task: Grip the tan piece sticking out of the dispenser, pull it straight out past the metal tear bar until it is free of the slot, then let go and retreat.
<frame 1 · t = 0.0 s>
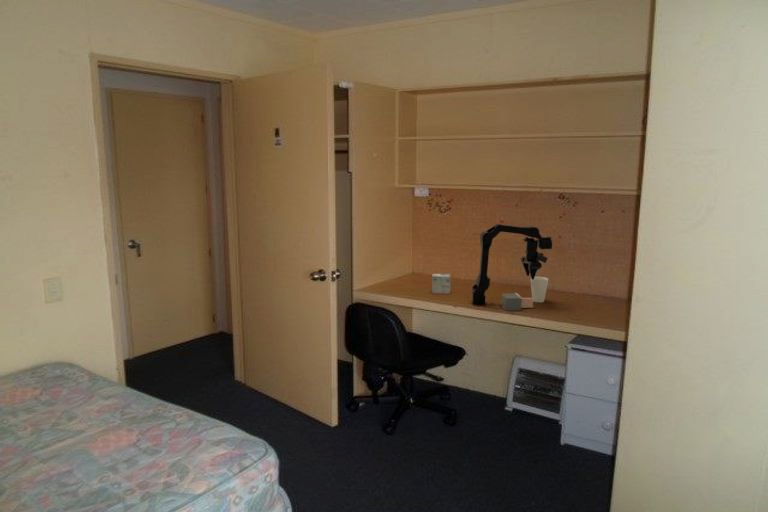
hand: (530, 277, 300), 15 cm above the table, fingers open, 9 cm apart
light bulb box: (441, 292, 327), on the table
foam cup: (538, 301, 308), on the table
tan piece: (523, 302, 293), point 3 cm above the table, slide at 0.0 cm
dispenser: (510, 307, 294), on the table
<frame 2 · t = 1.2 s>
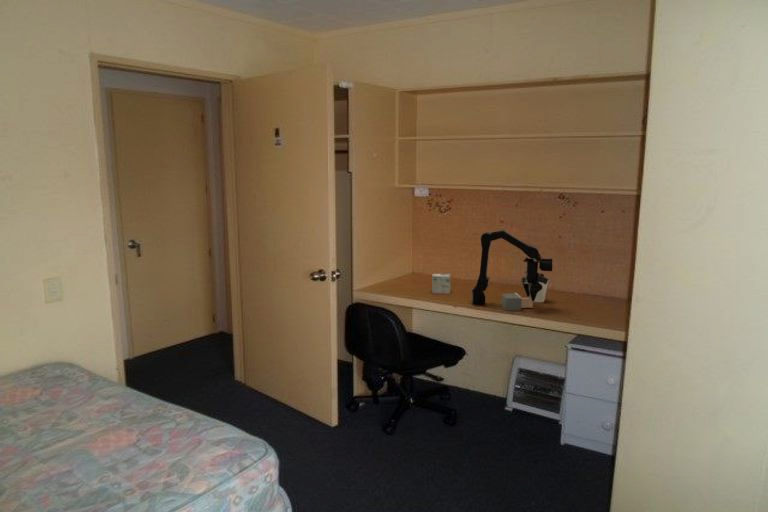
hand: (530, 298, 293), 5 cm above the table, fingers open, 9 cm apart
nothing on the table moved.
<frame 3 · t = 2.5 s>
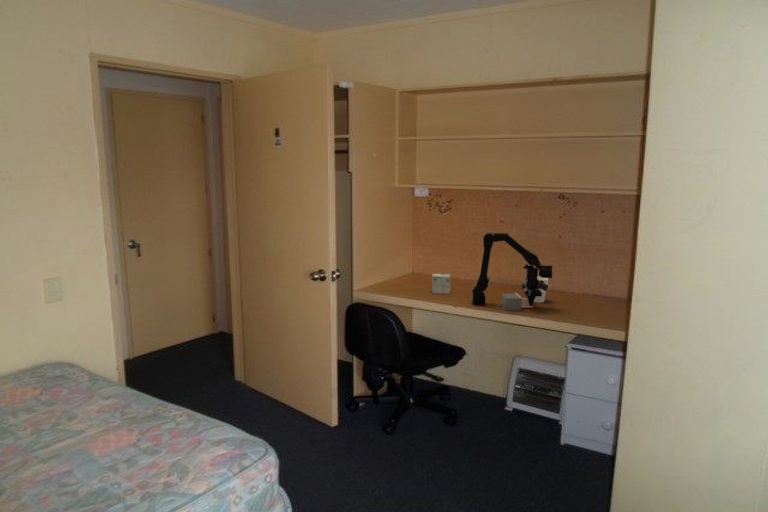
hand: (530, 305, 294), 1 cm above the table, fingers closed on tan piece, 2 cm apart
tan piece: (523, 302, 293), point 3 cm above the table, slide at 0.0 cm, touching gripper
everything else where it was.
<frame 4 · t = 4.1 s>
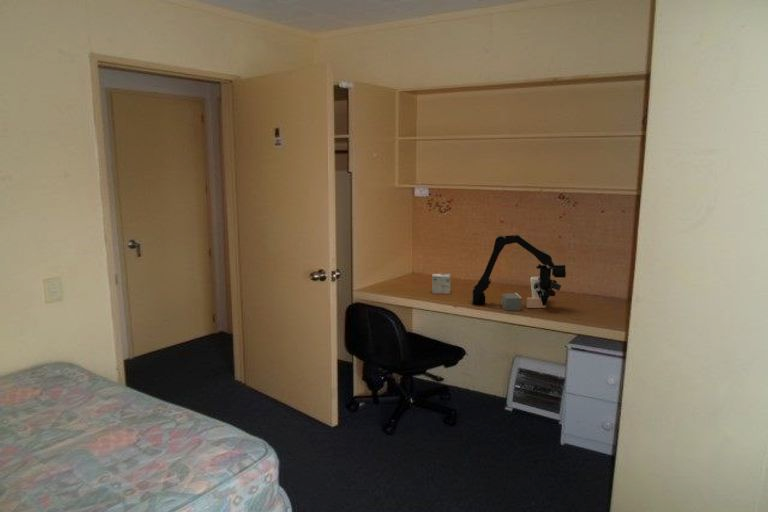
hand: (543, 305, 294), 1 cm above the table, fingers closed on tan piece, 2 cm apart
tan piece: (536, 302, 294), point 3 cm above the table, slide at 7.0 cm, touching gripper
everything else where it was.
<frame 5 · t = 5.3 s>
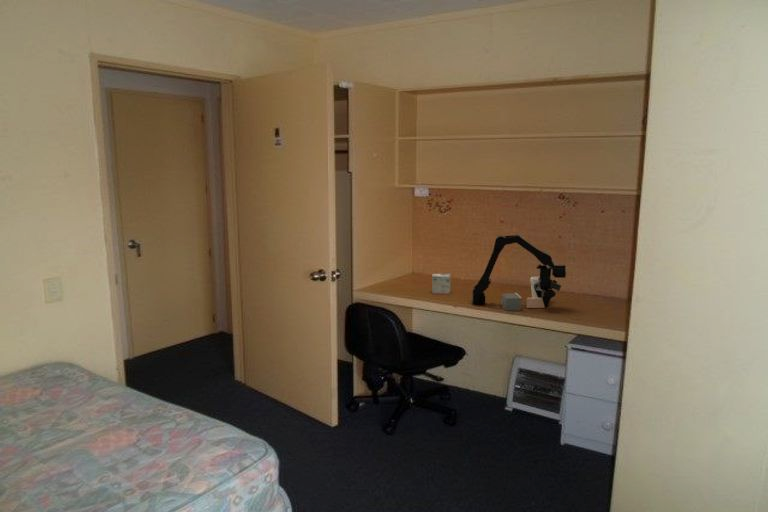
hand: (543, 305, 294), 1 cm above the table, fingers open, 8 cm apart
tan piece: (536, 302, 294), point 3 cm above the table, slide at 7.0 cm
everything else where it was.
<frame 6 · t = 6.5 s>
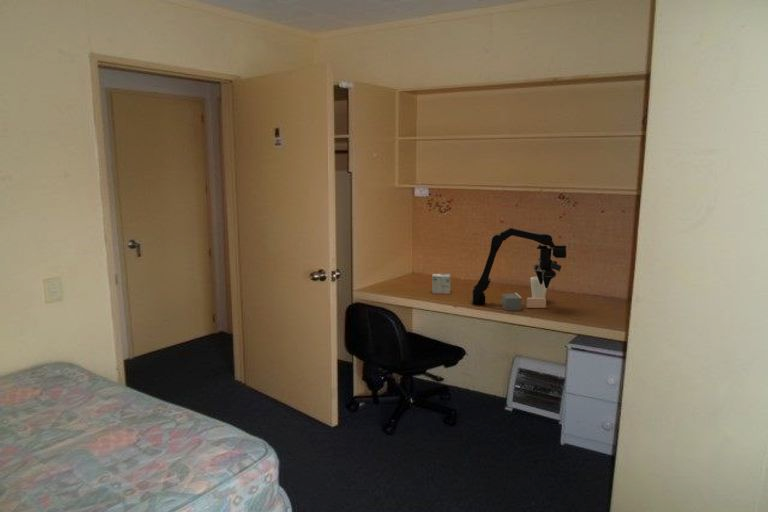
hand: (543, 286, 292), 12 cm above the table, fingers open, 9 cm apart
nothing on the table moved.
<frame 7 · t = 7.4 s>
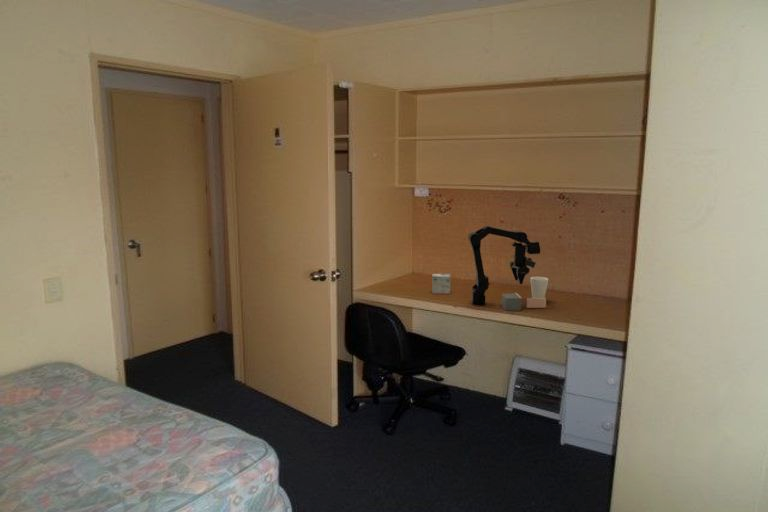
hand: (518, 282, 301), 12 cm above the table, fingers open, 9 cm apart
nothing on the table moved.
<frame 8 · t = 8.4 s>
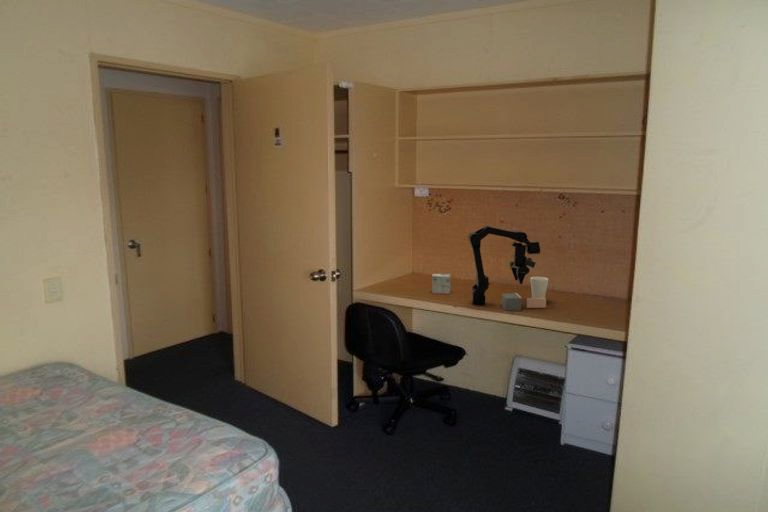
hand: (518, 282, 301), 12 cm above the table, fingers open, 9 cm apart
nothing on the table moved.
at the end: tan piece slide at 7.0 cm; the gripper is holding nothing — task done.
